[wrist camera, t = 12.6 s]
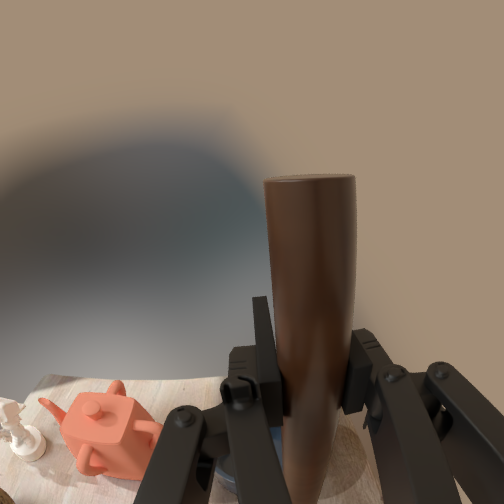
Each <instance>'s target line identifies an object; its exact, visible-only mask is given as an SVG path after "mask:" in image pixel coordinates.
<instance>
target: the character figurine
mask: <svg viewBox="0 0 504 504" xmlns="http://www.w3.org/2000/svg"><path fill="white" fill-rule="evenodd" d="M25 407H26V406H25V404H20V403H17V402H16V401H14V400H10V399H5V398H0V423H1V426H2V427H3V428H4V429H3V431H2V430H1V429H0V439H1V438H3V440H4V442H7V441H8V442H10V447H11V449H12V451H13V452H14V453H15V454H16V455H17V456H18V457H19V458H20V459H22V460H24V461H27V462H32V461H35V460H37V459H39V458H40V457H41V456H42V455H43V454H44V452H45V450H46V440H45V438H44V436H43V435H42V434H41V433H40V432H39V430H38V429H37V428H35V427H33V426H30V425H25V426H23V425H21V424H20V420H22V419H21V418H20V416H19V415H18V414H19V413H20V412H21V411H22V410H23V409H24V408H25ZM10 431H11V432H12V435H11V433H10Z"/></svg>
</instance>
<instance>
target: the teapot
mask: <svg viewBox="0 0 504 504" xmlns="http://www.w3.org/2000/svg"><path fill="white" fill-rule="evenodd" d="M38 401H39V403H40V404H42V405H43V406H44V407H46V408H47V409H48V410H49V411H50V412H51V413H52V415H53V416H54V417H55V419H56V420H57V422H58V423H59V425H60V426H61V427H60V432H61V435H62V437H63V439H64V441H65V443H66V445H67V447H68V448H69V450H70V451H71V453H72V454H73V455H74V457H75V458H76V459H77V462H76V465H77V469H78V471H79V472H80V473H82V474H84V475H87V476H96V475H99V474H104V475H107V476H111V477H115V478H120V479H129V480H142V479H143V477H144V474H145V471H146V469H147V466H148V464H149V461H150V459H151V456H152V454H153V451H154V448H155V446H156V443H157V441H158V438H159V436H160V433H161V431H162V428H163V425H162V424H160V423H157V422H155V421H154V419H153V418H152V417H151V415H150V414H149V413H148V412H147V411H146V410H145V409H144V408H143V407H142V406H141V405H140V404H139V403H138V402H137V401H136V400H135V399H134V398H131V397H126V391H125V387H124V384H123V383H122V382H121V381H120V380H115V381H114V382H112V384H111V385H110V386H109V388H108V390H107V392H106V393H93V392H84V393H79V394H78V396H77V397H76V398H75V400H74V402H73V403H72V405H71V407H70V408H69V410H68V412H67V413H65V412H64V411H63V410H62V409H60V408H59V407H58V406H57V405H55V404H54V403H52V402H51V401H50V400H48V399H45V398H39V399H38Z"/></svg>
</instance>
